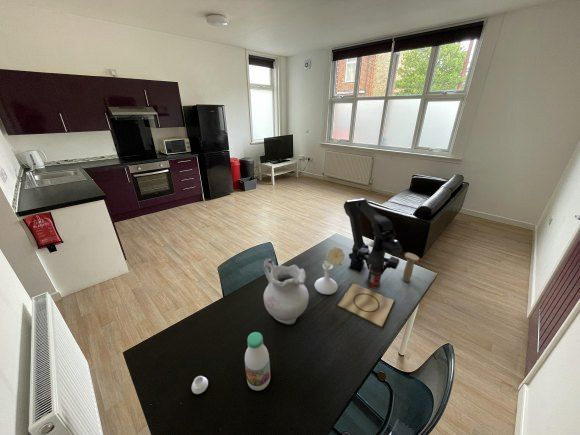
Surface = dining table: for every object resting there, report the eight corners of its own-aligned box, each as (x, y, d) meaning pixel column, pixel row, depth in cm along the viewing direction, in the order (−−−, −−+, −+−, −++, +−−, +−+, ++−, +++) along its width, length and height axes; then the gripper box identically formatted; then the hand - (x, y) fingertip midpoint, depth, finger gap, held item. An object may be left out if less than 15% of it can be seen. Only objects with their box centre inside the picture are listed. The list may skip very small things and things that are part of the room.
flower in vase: (311, 293, 116) (313, 249, 105) (318, 278, 126) (320, 237, 115) (338, 300, 112) (343, 256, 101) (342, 285, 121) (347, 243, 111)
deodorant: (378, 281, 124) (384, 257, 117) (378, 289, 119) (384, 264, 112) (367, 278, 125) (371, 255, 119) (366, 286, 120) (371, 262, 114)
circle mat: (337, 305, 109) (337, 304, 109) (353, 284, 122) (353, 283, 122) (382, 327, 98) (382, 326, 98) (393, 301, 111) (394, 300, 111)
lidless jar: (205, 394, 76) (209, 378, 80) (204, 388, 74) (208, 372, 79) (189, 394, 76) (194, 378, 80) (188, 389, 74) (193, 373, 79)
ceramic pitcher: (252, 319, 103) (245, 276, 91) (273, 288, 119) (270, 248, 106) (297, 338, 95) (296, 293, 83) (314, 302, 110) (315, 260, 98)
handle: (403, 275, 128) (409, 251, 122) (414, 282, 123) (421, 258, 117) (397, 278, 126) (403, 254, 119) (408, 285, 121) (414, 260, 114)
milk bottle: (248, 368, 83) (243, 328, 74) (270, 366, 84) (267, 326, 75) (246, 392, 76) (240, 351, 67) (270, 390, 77) (267, 348, 68)
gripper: (354, 246, 111) (350, 273, 118) (396, 259, 101) (389, 288, 108) (363, 236, 119) (359, 262, 126) (402, 248, 109) (396, 275, 116)
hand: (375, 271), depth 119 cm, fingers closed on deodorant, 6 cm apart
